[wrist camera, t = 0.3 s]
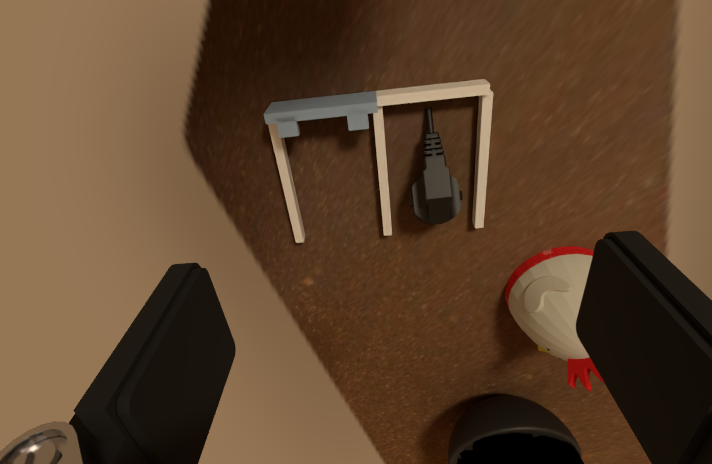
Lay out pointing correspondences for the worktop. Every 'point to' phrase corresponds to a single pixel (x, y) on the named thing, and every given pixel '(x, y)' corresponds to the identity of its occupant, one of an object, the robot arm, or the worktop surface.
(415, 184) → the power plug
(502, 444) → the coal bowl
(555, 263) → the kitchen timer
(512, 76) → the worktop surface
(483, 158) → the cable organizer
